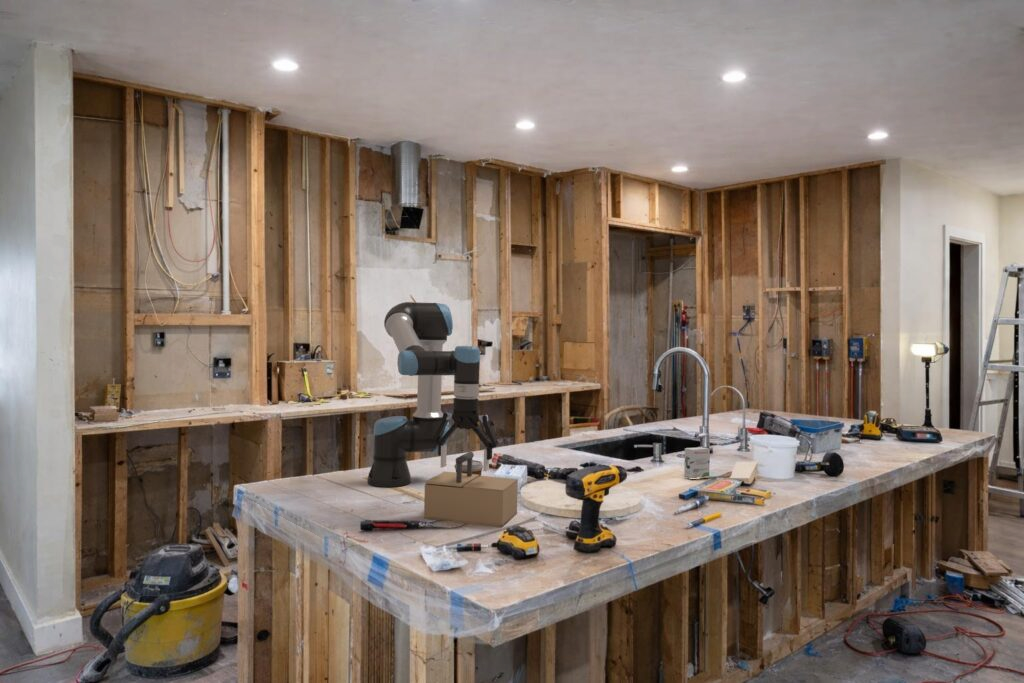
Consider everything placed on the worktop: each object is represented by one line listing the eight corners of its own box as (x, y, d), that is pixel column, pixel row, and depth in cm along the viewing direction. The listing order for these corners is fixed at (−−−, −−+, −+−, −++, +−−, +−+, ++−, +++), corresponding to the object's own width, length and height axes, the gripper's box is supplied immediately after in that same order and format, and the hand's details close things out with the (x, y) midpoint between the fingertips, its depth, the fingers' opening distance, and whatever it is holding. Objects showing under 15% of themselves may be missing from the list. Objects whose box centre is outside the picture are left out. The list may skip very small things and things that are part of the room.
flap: (444, 473, 214) (444, 448, 214) (479, 476, 211) (479, 450, 211) (424, 483, 200) (425, 456, 200) (462, 487, 197) (462, 459, 196)
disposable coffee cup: (488, 498, 226) (489, 461, 226) (472, 504, 218) (472, 466, 218) (464, 493, 231) (465, 458, 231) (447, 499, 223) (448, 462, 222)
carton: (443, 506, 214) (444, 472, 214) (516, 513, 208) (517, 479, 207) (424, 518, 200) (424, 482, 200) (502, 527, 193) (503, 489, 193)
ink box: (701, 476, 269) (702, 446, 268) (709, 479, 264) (710, 448, 264) (683, 477, 265) (684, 447, 265) (691, 480, 261) (692, 449, 260)
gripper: (422, 396, 204) (420, 467, 204) (502, 401, 197) (500, 474, 197) (432, 394, 211) (430, 462, 211) (509, 398, 204) (508, 469, 204)
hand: (464, 468), depth 204 cm, fingers open, 13 cm apart
